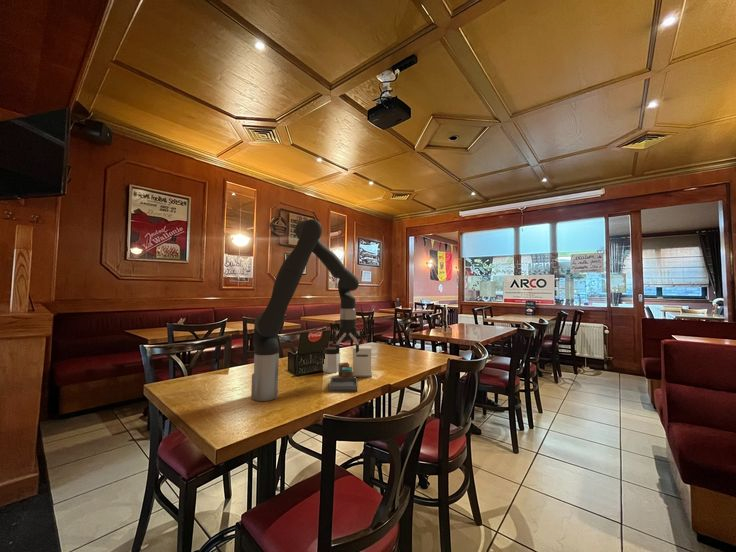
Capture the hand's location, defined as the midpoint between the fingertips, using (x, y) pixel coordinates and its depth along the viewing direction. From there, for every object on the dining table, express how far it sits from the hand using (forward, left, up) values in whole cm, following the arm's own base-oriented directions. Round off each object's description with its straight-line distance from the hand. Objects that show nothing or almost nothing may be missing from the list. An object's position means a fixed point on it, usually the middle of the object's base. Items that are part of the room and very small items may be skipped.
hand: (347, 352), depth 142 cm
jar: (-9, +18, -13) cm, 24 cm away
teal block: (0, 0, -13) cm, 13 cm away
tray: (-1, -9, -13) cm, 16 cm away
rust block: (-2, +9, -13) cm, 16 cm away
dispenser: (+7, +10, -13) cm, 18 cm away
